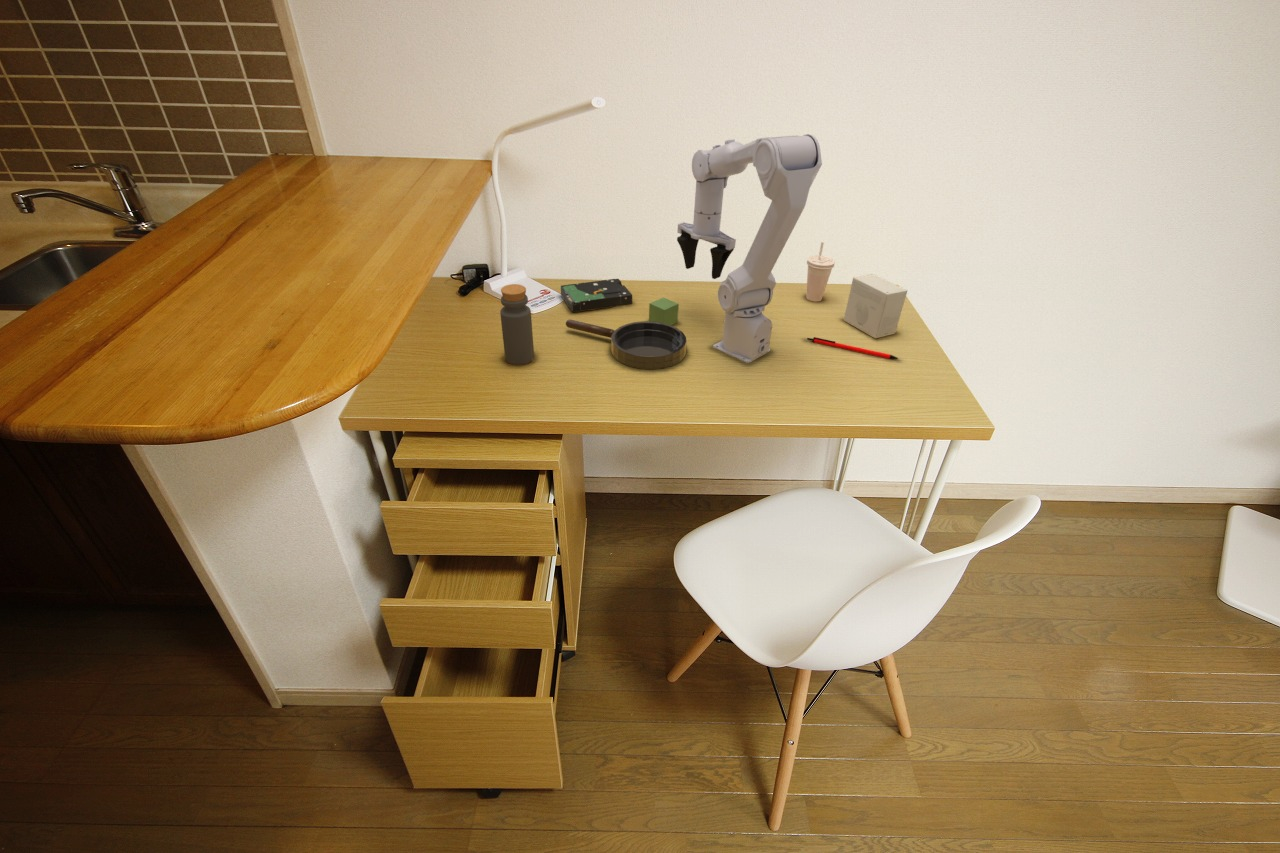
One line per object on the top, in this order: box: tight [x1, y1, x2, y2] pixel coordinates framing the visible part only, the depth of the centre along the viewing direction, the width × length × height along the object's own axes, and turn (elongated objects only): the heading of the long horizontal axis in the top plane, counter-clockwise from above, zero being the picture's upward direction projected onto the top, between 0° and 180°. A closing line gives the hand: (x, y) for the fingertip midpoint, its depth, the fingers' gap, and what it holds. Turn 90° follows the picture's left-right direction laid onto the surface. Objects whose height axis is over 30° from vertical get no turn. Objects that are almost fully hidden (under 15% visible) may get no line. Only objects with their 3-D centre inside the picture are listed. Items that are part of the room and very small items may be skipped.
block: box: [648, 296, 680, 326], centre depth 146 cm, size 5×5×5 cm
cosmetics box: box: [843, 273, 908, 339], centre depth 145 cm, size 10×6×10 cm, turn 28°
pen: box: [806, 336, 899, 360], centre depth 139 cm, size 1×19×1 cm, turn 65°
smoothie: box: [805, 241, 836, 303], centre depth 156 cm, size 6×6×14 cm
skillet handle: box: [565, 319, 615, 339], centre depth 140 cm, size 12×2×2 cm, turn 65°
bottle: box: [499, 283, 535, 366], centre depth 129 cm, size 6×6×15 cm
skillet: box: [610, 320, 687, 370], centre depth 136 cm, size 15×15×3 cm
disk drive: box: [560, 278, 633, 313], centre depth 156 cm, size 10×3×15 cm
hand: (702, 272), depth 145 cm, fingers open, 7 cm apart
